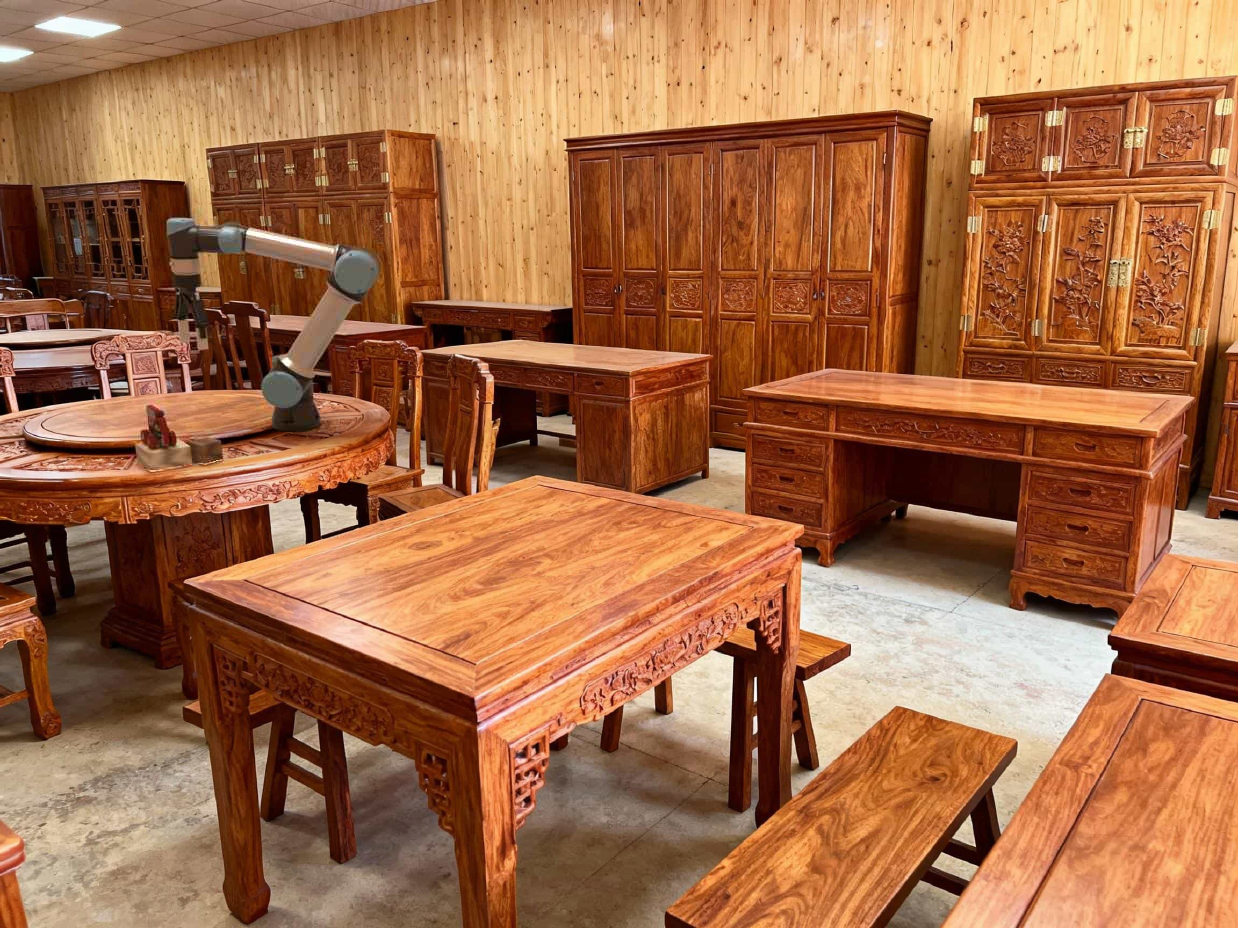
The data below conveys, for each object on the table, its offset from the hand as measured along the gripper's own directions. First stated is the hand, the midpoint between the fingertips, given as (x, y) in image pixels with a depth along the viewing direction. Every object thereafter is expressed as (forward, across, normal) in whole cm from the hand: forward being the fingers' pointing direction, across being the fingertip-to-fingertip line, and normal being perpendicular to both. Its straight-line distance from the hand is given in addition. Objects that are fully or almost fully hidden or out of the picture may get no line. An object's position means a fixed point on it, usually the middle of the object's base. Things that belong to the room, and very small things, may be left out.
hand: (194, 345), depth 273 cm
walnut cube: (+29, +22, -8) cm, 37 cm away
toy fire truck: (+23, +17, -18) cm, 34 cm away
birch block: (+29, +18, -18) cm, 38 cm away
